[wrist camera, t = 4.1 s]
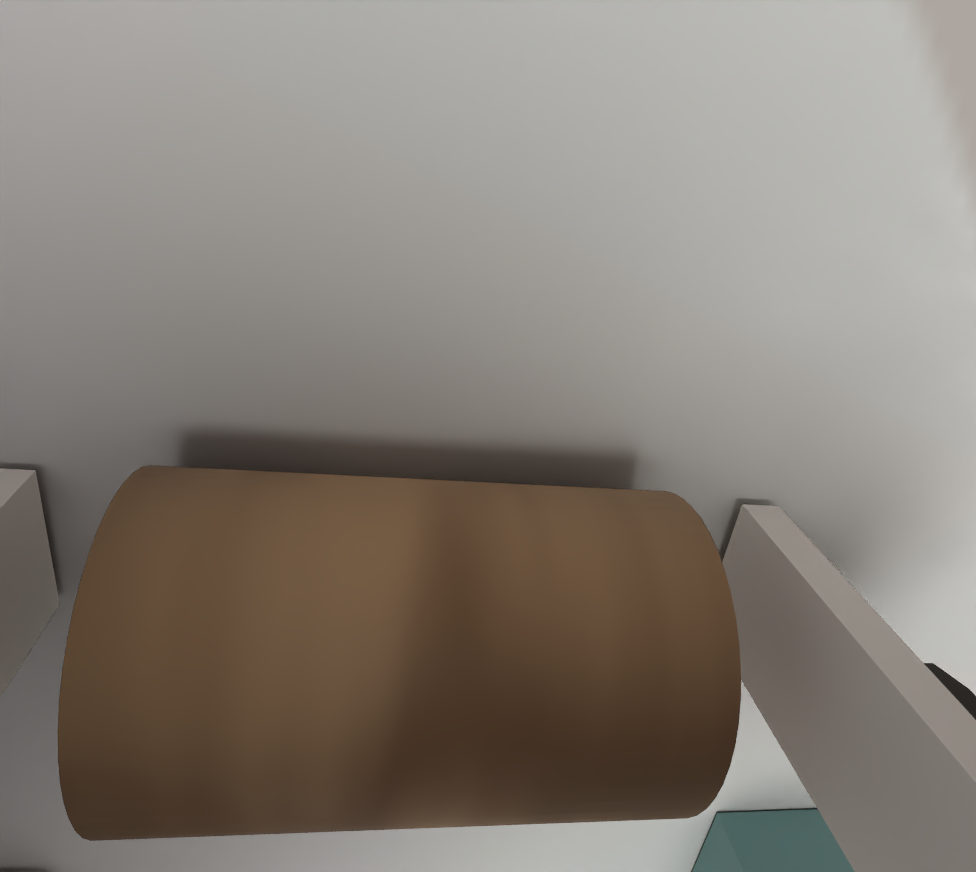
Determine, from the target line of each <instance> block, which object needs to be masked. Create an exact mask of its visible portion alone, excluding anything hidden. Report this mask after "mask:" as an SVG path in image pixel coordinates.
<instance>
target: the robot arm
mask: <svg viewBox="0 0 976 872" xmlns="http://www.w3.org/2000/svg"><path fill="white" fill-rule="evenodd" d="M722 564H723V566H724V569H725V572H726V576H727V580H728V584H729V587H730V591H731V595H732V600H733V605H734V610H735V616H736V622H737V630H738V638H739V647H740V664H741V680H742V682H743V683H744V685H745V687H746V688H747V690H748V692H749V693H750V695H751V697H752V699H753V700H754V702H755V704H756V705H757V707H758V709H759V710H760V712H761V714H762V715H763V717H764V719H765V721H766V722H767V724H768V726H769V727H770V729H771V731H772V732H773V734H774V736H775V738H776V739H777V741H778V743H779V744H780V746H781V748H782V749H783V751H784V753H785V754H786V756H787V758H788V760H789V761H790V763H791V765H792V766H793V768H794V770H795V771H796V773H797V775H798V777H799V778H800V780H801V782H802V783H803V785H804V787H805V788H806V790H807V792H808V794H809V795H810V797H811V799H812V800H813V802H814V804H815V805H816V807H817V809H818V810H819V812H820V814H821V816H822V817H823V819H824V821H825V822H826V824H827V826H828V827H829V829H830V831H831V833H832V834H833V836H834V838H835V839H836V841H837V843H838V844H839V846H840V848H841V849H842V851H843V853H844V855H845V856H846V858H847V860H848V861H849V863H850V865H851V866H852V868H853V870H854V872H976V696H975V695H974V694H973V693H972V692H971V691H970V690H969V689H968V688H967V687H965V686H964V685H963V684H961V683H960V682H958V681H957V680H956V679H954V678H953V677H951V676H950V675H949V674H947V673H946V672H944V671H943V670H942V669H940V668H939V667H937V666H936V665H935V664H933V663H923V662H922V661H921V660H920V659H919V658H918V657H917V656H916V655H915V653H914V652H913V651H912V650H911V649H910V648H909V647H908V646H907V645H906V644H905V643H904V642H903V640H902V639H901V638H900V637H899V636H898V635H897V634H896V633H895V632H894V631H893V630H892V629H891V627H890V626H889V625H888V624H887V623H886V622H885V621H884V620H883V619H882V618H881V617H880V616H879V614H878V613H877V612H876V611H875V610H874V609H873V608H872V607H871V606H870V605H869V604H868V602H867V601H866V600H865V599H864V598H863V597H862V596H861V595H860V594H859V593H858V592H857V591H856V589H855V588H854V587H853V586H852V585H851V584H850V583H849V582H848V581H847V580H846V579H845V578H844V576H843V575H842V574H841V573H840V572H839V571H838V570H837V569H836V568H835V567H834V566H833V565H832V563H831V562H830V561H829V560H828V559H827V558H826V557H825V556H824V555H823V554H822V553H821V552H820V550H819V549H818V548H817V547H816V546H815V545H814V544H813V543H812V542H811V541H810V540H809V539H808V537H807V536H806V535H805V534H804V533H803V532H802V531H801V530H800V529H799V528H798V527H797V526H796V524H795V523H794V522H793V521H792V520H791V519H790V518H789V517H788V516H787V515H786V514H785V513H784V511H783V510H782V509H781V508H780V507H779V506H767V505H746V504H742V506H741V509H740V512H739V515H738V518H737V521H736V524H735V527H734V529H733V532H732V535H731V538H730V541H729V544H728V547H727V550H726V553H725V555H724V558H723V561H722ZM59 605H60V603H59V597H58V592H57V586H56V581H55V575H54V570H53V564H52V558H51V553H50V547H49V542H48V536H47V531H46V525H45V520H44V514H43V509H42V503H41V498H40V492H39V487H38V481H37V475H36V470H21V469H0V697H1V695H2V694H3V692H4V691H5V689H6V688H7V686H8V685H9V683H10V681H11V680H12V678H13V677H14V675H15V674H16V672H17V670H18V669H19V667H20V666H21V664H22V663H23V661H24V659H25V658H26V656H27V655H28V653H29V652H30V650H31V648H32V647H33V645H34V644H35V642H36V641H37V639H38V637H39V636H40V634H41V633H42V631H43V630H44V628H45V627H46V625H47V623H48V622H49V620H50V619H51V617H52V616H53V614H54V612H55V611H56V609H57V608H58V606H59Z"/></svg>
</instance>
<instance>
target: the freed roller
mask: <svg viewBox="0 0 976 872" xmlns="http://www.w3.org/2000/svg"><path fill="white" fill-rule="evenodd" d="M740 701H741V664H740V647H739V638H738V630H737V622H736V616H735V610H734V605H733V600H732V595H731V591H730V587H729V584H728V580H727V576H726V572H725V569H724V566H723V564H722V561H721V558H720V555H719V552H718V550H717V548H716V545H715V543H714V541H713V539H712V537H711V534H710V533H709V531H708V529H707V527H706V526H705V524H704V522H703V521H702V519H701V518H700V516H699V515H698V514H697V512H696V511H695V510H694V509H693V507H692V506H690V505H689V504H688V503H687V502H686V501H685V500H684V499H682V498H681V497H679V496H677V495H676V494H673V493H670V492H666V491H649V490H629V489H609V488H589V487H569V486H549V485H529V484H510V483H490V482H470V481H450V480H430V479H410V478H390V477H371V476H351V475H331V474H311V473H291V472H271V471H252V470H232V469H212V468H192V467H172V466H152V465H148V466H144V467H141V468H139V469H138V470H136V471H135V472H133V473H132V474H131V475H130V476H129V477H128V478H127V479H126V480H125V482H124V483H123V484H122V486H121V487H120V489H119V490H118V491H117V493H116V494H115V496H114V498H113V500H112V501H111V503H110V505H109V507H108V509H107V510H106V513H105V515H104V517H103V519H102V521H101V524H100V526H99V528H98V530H97V533H96V536H95V538H94V541H93V544H92V546H91V549H90V551H89V554H88V558H87V561H86V564H85V567H84V570H83V574H82V577H81V580H80V584H79V588H78V592H77V596H76V600H75V604H74V608H73V613H72V618H71V622H70V627H69V632H68V637H67V643H66V650H65V656H64V663H63V669H62V679H61V689H60V698H59V716H58V763H59V775H60V785H61V790H62V796H63V801H64V805H65V809H66V812H67V815H68V818H69V820H70V822H71V824H72V826H73V828H74V830H75V831H76V832H77V833H78V834H79V835H80V836H81V837H82V838H84V839H87V840H90V841H94V840H121V839H147V838H174V837H200V836H227V835H254V834H280V833H307V832H333V831H360V830H386V829H413V828H440V827H466V826H493V825H519V824H546V823H573V822H599V821H626V820H652V819H679V818H690V817H693V816H696V815H698V814H700V813H701V812H703V811H704V810H705V809H707V807H708V806H709V805H710V804H711V803H712V801H713V800H714V799H715V798H716V796H717V794H718V792H719V791H720V789H721V787H722V785H723V783H724V780H725V778H726V775H727V772H728V770H729V767H730V763H731V760H732V756H733V752H734V748H735V743H736V737H737V730H738V724H739V713H740Z"/></svg>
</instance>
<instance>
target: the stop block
mask: <svg viewBox="0 0 976 872" xmlns="http://www.w3.org/2000/svg"><path fill="white" fill-rule="evenodd" d="M692 872H854V870H853V868H852V866H851V865H850V863H849V861H848V860H847V858H846V856H845V855H844V853H843V851H842V849H841V848H840V846H839V844H838V843H837V841H836V839H835V838H834V836H833V834H832V833H831V831H830V829H829V827H828V826H827V824H826V822H825V821H824V819H823V817H822V816H821V814H820V812H819V810H818V809H812V810H785V811H757V812H730V813H717V815H716V817H715V819H714V822H713V824H712V826H711V829H710V831H709V833H708V836H707V838H706V840H705V843H704V845H703V847H702V850H701V852H700V854H699V857H698V859H697V861H696V864H695V866H694V868H693V871H692Z"/></svg>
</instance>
